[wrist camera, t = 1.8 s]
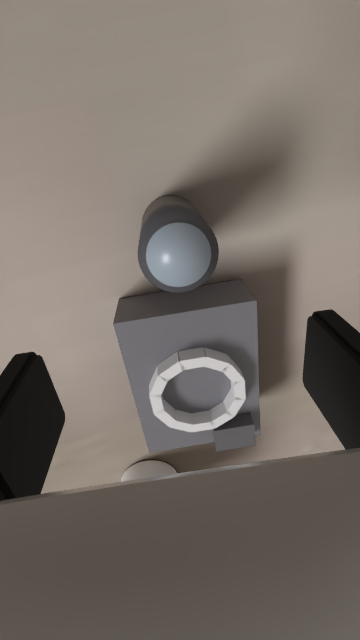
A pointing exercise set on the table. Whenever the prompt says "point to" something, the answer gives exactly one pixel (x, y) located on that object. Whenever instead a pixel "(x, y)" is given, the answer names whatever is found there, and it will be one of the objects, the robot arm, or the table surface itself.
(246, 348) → the camera body
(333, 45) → the table surface
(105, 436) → the table surface
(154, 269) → the lens
